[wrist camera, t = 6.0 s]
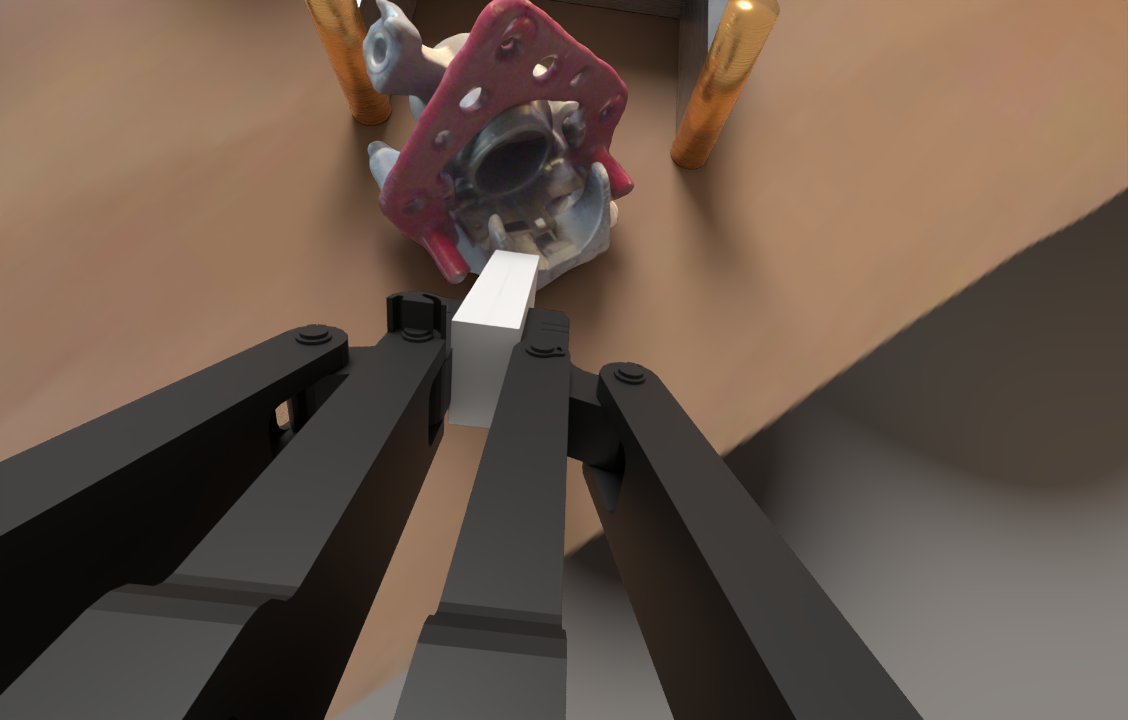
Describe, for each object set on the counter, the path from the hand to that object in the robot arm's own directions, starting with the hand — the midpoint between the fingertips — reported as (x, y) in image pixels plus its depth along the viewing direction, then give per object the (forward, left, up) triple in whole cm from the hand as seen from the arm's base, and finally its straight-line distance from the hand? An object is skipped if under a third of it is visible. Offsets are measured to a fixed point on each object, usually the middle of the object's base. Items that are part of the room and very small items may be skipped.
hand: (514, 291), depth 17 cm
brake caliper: (-1, +7, -6) cm, 9 cm away
